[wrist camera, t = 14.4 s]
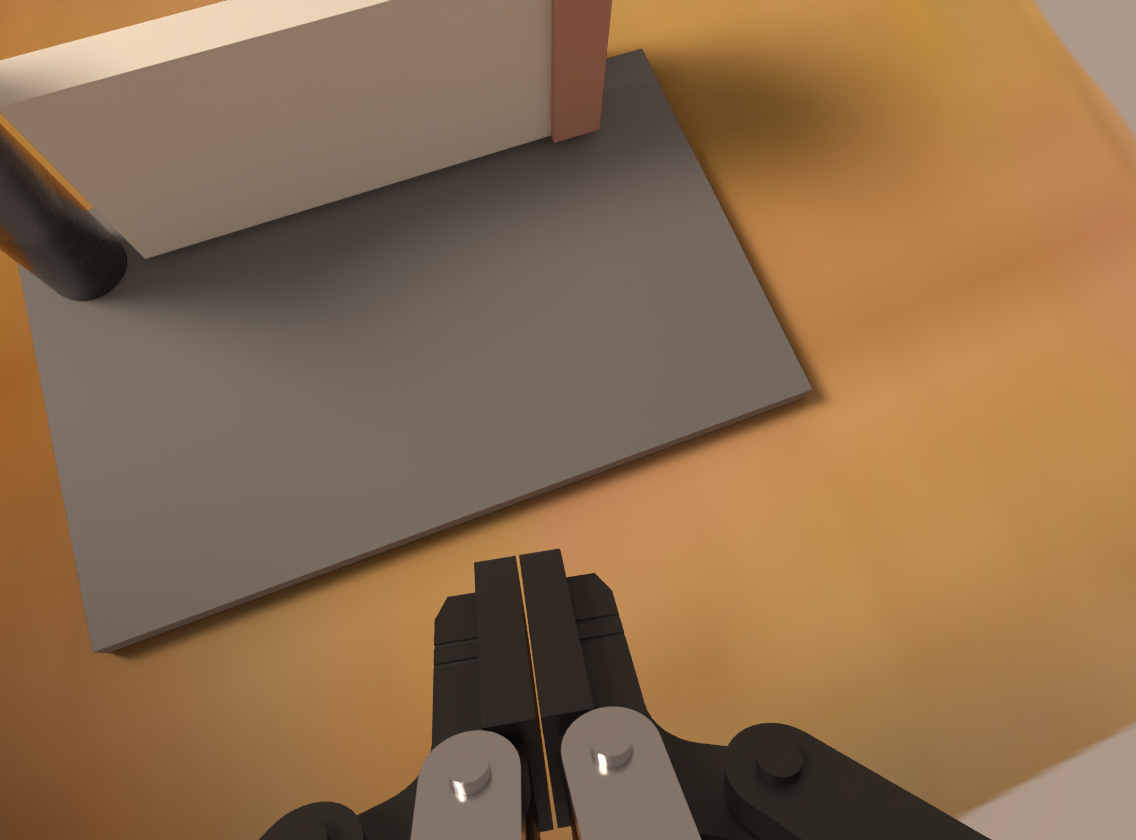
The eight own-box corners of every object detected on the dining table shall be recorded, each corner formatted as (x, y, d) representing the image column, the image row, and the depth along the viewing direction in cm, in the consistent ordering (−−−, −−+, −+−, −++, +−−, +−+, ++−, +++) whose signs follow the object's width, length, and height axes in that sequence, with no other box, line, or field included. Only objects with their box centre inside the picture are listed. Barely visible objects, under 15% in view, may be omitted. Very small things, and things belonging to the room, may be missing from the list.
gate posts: (77, 324, 31) (-334, 25, 16) (53, 265, 31) (-361, -72, 17) (591, 94, 35) (622, -310, 20) (558, 46, 35) (566, -376, 21)
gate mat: (108, 652, 27) (92, 652, 26) (28, 245, 32) (12, 232, 31) (803, 397, 30) (812, 389, 30) (639, 65, 35) (641, 48, 34)
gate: (147, 267, 30) (-120, 2, 18) (134, 216, 30) (-131, -73, 19) (599, 129, 32) (630, -186, 20) (578, 84, 33) (596, -246, 21)
